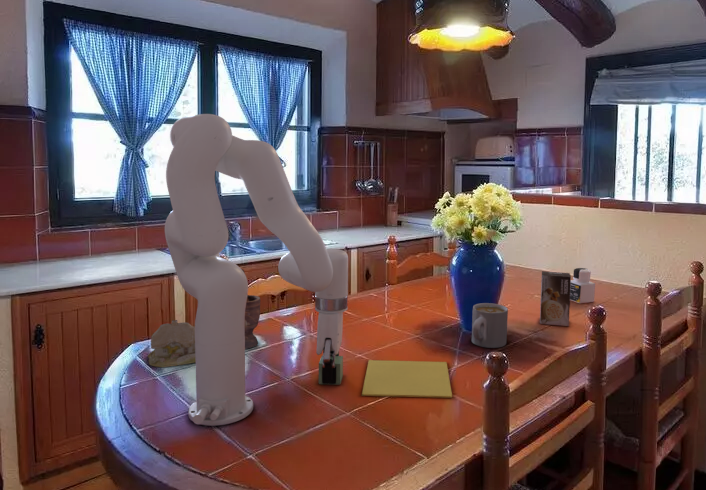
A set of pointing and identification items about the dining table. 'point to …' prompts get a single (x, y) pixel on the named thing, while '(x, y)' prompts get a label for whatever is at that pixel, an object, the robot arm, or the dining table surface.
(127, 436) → the dining table surface
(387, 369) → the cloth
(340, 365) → the toy block
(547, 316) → the coffee box
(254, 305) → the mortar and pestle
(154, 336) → the ceramic model
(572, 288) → the medicine bottle
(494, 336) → the coffee mug
